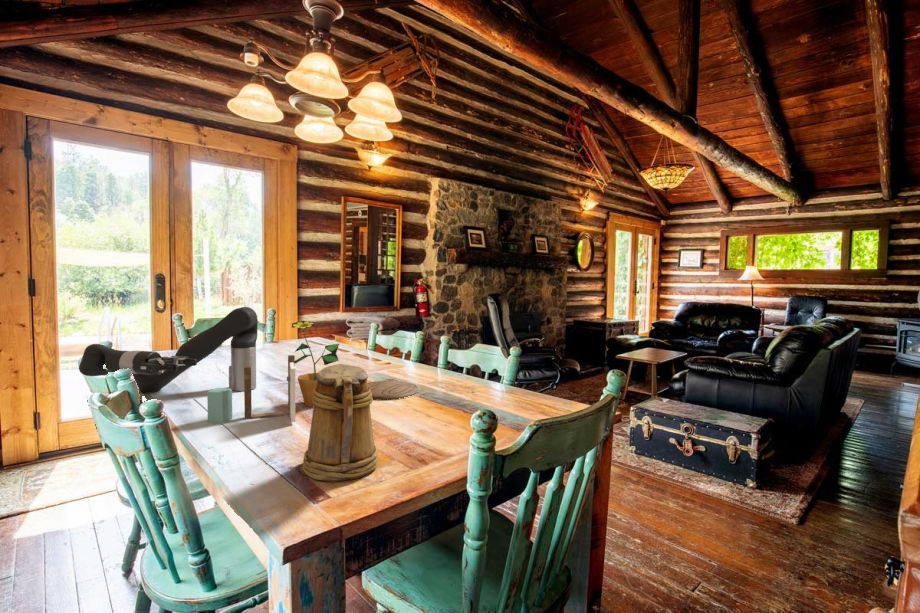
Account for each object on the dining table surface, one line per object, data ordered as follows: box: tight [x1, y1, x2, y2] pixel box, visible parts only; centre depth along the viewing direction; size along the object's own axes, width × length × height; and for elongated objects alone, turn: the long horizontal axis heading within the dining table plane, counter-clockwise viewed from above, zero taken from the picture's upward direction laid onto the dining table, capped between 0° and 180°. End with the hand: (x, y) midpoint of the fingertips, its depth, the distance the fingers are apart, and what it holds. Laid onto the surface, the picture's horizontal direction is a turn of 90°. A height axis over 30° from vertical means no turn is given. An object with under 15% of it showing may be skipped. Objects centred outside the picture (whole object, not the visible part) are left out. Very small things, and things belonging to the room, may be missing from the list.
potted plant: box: [291, 320, 340, 407], centre depth 166 cm, size 18×19×30 cm
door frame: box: [243, 354, 296, 420], centre depth 151 cm, size 15×3×20 cm, turn 113°
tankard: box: [302, 363, 380, 483], centre depth 111 cm, size 18×24×25 cm
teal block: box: [206, 387, 233, 425], centre depth 145 cm, size 5×5×10 cm
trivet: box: [367, 380, 419, 401], centre depth 186 cm, size 25×25×2 cm
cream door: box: [286, 362, 296, 423], centre depth 147 cm, size 10×2×17 cm, turn 23°
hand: (186, 364), depth 145 cm, fingers open, 8 cm apart
